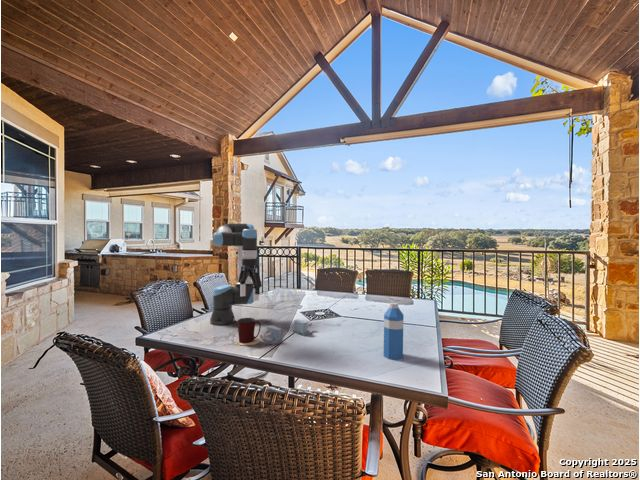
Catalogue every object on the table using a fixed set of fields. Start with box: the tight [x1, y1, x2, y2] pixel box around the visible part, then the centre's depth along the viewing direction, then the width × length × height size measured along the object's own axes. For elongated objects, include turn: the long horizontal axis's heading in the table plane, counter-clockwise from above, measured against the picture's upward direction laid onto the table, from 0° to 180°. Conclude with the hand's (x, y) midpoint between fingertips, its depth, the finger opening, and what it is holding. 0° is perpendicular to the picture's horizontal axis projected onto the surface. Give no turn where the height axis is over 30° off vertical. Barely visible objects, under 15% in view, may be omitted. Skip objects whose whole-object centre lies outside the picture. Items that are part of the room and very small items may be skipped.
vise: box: [259, 318, 313, 346], centre depth 166 cm, size 10×34×7 cm, turn 134°
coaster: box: [236, 337, 261, 347], centre depth 158 cm, size 12×12×1 cm
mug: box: [237, 317, 262, 343], centre depth 158 cm, size 12×9×11 cm
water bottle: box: [383, 302, 405, 361], centre depth 141 cm, size 9×9×25 cm
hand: (249, 298), depth 158 cm, fingers open, 13 cm apart
